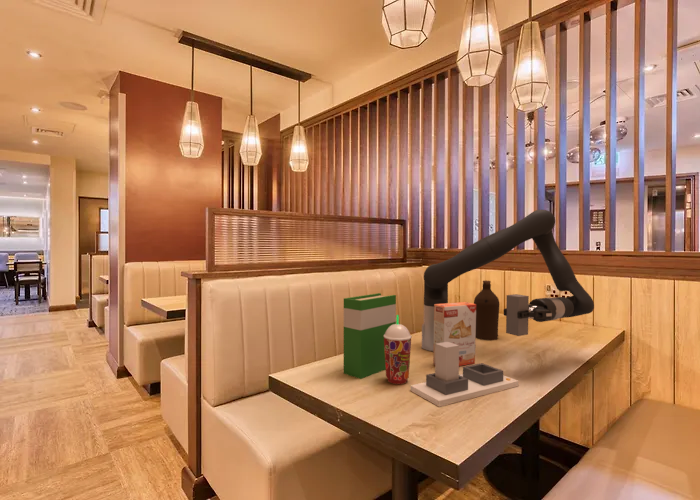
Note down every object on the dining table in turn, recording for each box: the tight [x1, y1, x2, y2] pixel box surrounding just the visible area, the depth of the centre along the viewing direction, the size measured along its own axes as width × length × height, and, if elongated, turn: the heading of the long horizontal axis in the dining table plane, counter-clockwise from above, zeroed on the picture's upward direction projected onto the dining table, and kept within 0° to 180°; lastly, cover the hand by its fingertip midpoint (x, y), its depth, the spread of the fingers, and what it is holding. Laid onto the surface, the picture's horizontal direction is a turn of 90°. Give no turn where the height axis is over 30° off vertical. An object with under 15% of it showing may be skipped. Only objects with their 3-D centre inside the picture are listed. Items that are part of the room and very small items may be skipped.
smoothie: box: [384, 314, 412, 385], centre depth 116 cm, size 8×8×20 cm
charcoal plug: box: [505, 293, 530, 337], centre depth 120 cm, size 4×4×12 cm
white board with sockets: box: [409, 342, 520, 408], centre depth 110 cm, size 12×30×14 cm, turn 118°
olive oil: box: [473, 280, 500, 341], centre depth 168 cm, size 11×11×25 cm
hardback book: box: [343, 292, 397, 380], centre depth 126 cm, size 18×7×24 cm, turn 136°
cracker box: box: [432, 301, 476, 367], centre depth 132 cm, size 14×6×21 cm, turn 115°
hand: (511, 313), depth 119 cm, fingers closed on charcoal plug, 4 cm apart
